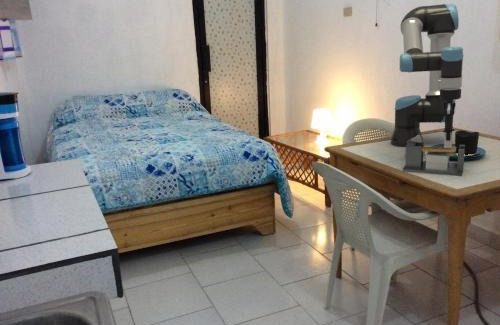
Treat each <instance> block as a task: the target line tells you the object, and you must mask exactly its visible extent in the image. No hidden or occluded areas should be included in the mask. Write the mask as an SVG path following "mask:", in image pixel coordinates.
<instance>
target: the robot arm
mask: <svg viewBox="0 0 500 325" xmlns="http://www.w3.org/2000/svg"><path fill="white" fill-rule="evenodd" d="M459 20H460V19H459V10H458V8H457V6H456V4H453V3H449V4H448V3H444V4H433V5H423V6H422V5H420V6H417V7H414V8H413V9H411V10H410V11H408V13H406V14H405V15H404V16H403V18H402V20H401V22H400V33H401V35H402V36H403V53H402V54H401V53H400V55H399V71H400V72H401V73H418V72H421V73H422V72H429V75H428V76H429V80H428V83H429V84H428V85H429V86H428V92H426V93H425V96H424V98H422V97H421V95H420V94H419V95H418V94H417V95H415V94H414V95H406V96H402V97H399V98H397V99H396V100H395V104H394V128H393V131H392V132H393V133H392V135H391V137H390V144H391V145H392V146H395V147H399V148H406V145H407V143H406V142H407V141H408V140H409V139H411V138H414V137H416V136H417V135H420V136H421V140H422V142H424V138H423V135H422V132H421V126H420V125H421V123H424V124H425V123H427V124H428V123H430V124H431V123H439V124H442V123H444V130H442V133H444V140H443V142H444V143H443V147H444V148H452V147H453V132H455V129H454V126H453V125H454V115H455V112H456V111H455V110H456V106H457V105H456V104H457V102H456V100H459V99H461V97H462V89H461V88H462V85H463V84H462V82H463V62H464V49H463V47H462V46H451V40H452V39H451V38H452V37H453V36H454V35H455V31H457V30H458V29H459V27H460V26H459ZM422 33H426V36H427V38H428V39H429V40H430V45H429V47H430V48H429V49H430V50H429V51H426V52H424V46H423V35H422Z"/></svg>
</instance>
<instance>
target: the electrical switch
mask: <svg viewBox="0 0 500 325" xmlns="http://www.w3.org/2000/svg"><path fill="white" fill-rule="evenodd" d="M409 141H410V142H422V140H421V136H420V135H417V136H416V137H414V138H411V139H409V140H408V141H407V142H406V143H407V144H408V142H409ZM425 154H426V152H423V156H424V155H425Z"/></svg>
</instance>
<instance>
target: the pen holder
mask: <svg viewBox="0 0 500 325" xmlns="http://www.w3.org/2000/svg"><path fill="white" fill-rule="evenodd" d="M479 137H480V132H479V131H472V132H470V131H467V130H463V129H462V130H456V131H454V147H456V152H454V154H455V153H458V150H459V145H465V153H464V154H465V155H468V154H475V153H477V152H478V146H479V145H478V144H479Z"/></svg>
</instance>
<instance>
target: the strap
mask: <svg viewBox="0 0 500 325" xmlns="http://www.w3.org/2000/svg"><path fill="white" fill-rule="evenodd" d="M422 152H425V153H427V152H450V153H455V152H456V147H455V146H452V148H444V146H424V147H422Z"/></svg>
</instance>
